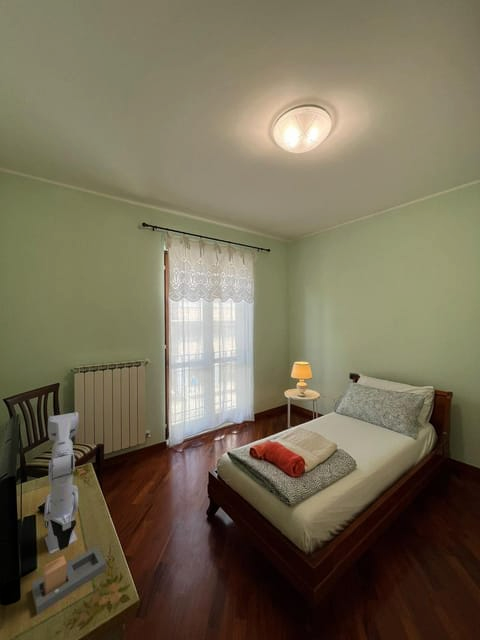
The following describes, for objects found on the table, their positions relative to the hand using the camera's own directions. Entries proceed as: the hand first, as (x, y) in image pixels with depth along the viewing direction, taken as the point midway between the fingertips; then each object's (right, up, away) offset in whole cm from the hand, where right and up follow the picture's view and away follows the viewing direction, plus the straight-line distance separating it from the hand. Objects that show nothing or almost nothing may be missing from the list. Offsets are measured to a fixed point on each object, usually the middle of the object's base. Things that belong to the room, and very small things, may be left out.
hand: (60, 540), depth 78 cm
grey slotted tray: (+4, -10, -2) cm, 11 cm away
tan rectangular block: (+2, -10, -5) cm, 11 cm away
